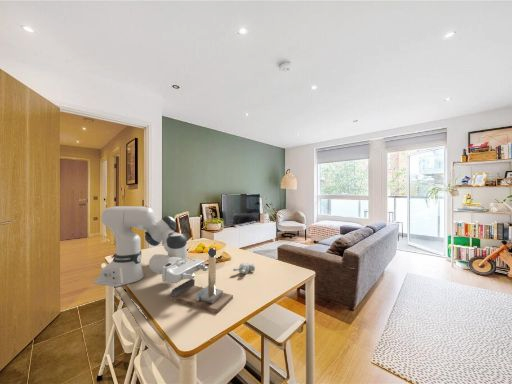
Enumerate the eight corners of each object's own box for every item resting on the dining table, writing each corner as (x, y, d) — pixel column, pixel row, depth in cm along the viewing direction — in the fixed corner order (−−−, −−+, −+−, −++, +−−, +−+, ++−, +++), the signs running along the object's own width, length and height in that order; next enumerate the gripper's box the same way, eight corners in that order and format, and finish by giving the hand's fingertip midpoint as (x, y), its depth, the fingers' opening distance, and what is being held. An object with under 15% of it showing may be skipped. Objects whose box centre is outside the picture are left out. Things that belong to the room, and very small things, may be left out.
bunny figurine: (258, 263, 123) (245, 268, 110) (257, 271, 122) (244, 277, 109) (245, 260, 128) (231, 264, 115) (244, 268, 127) (230, 274, 114)
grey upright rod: (196, 301, 84) (196, 249, 84) (210, 290, 93) (211, 244, 93) (210, 305, 81) (211, 251, 81) (224, 293, 90) (224, 245, 90)
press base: (171, 299, 88) (171, 289, 88) (190, 287, 99) (190, 278, 99) (217, 313, 78) (217, 301, 78) (232, 298, 89) (233, 288, 89)
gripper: (191, 266, 106) (213, 271, 100) (159, 282, 87) (184, 289, 81) (191, 254, 106) (214, 258, 100) (159, 268, 87) (184, 274, 81)
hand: (200, 272), depth 91 cm, fingers open, 8 cm apart
